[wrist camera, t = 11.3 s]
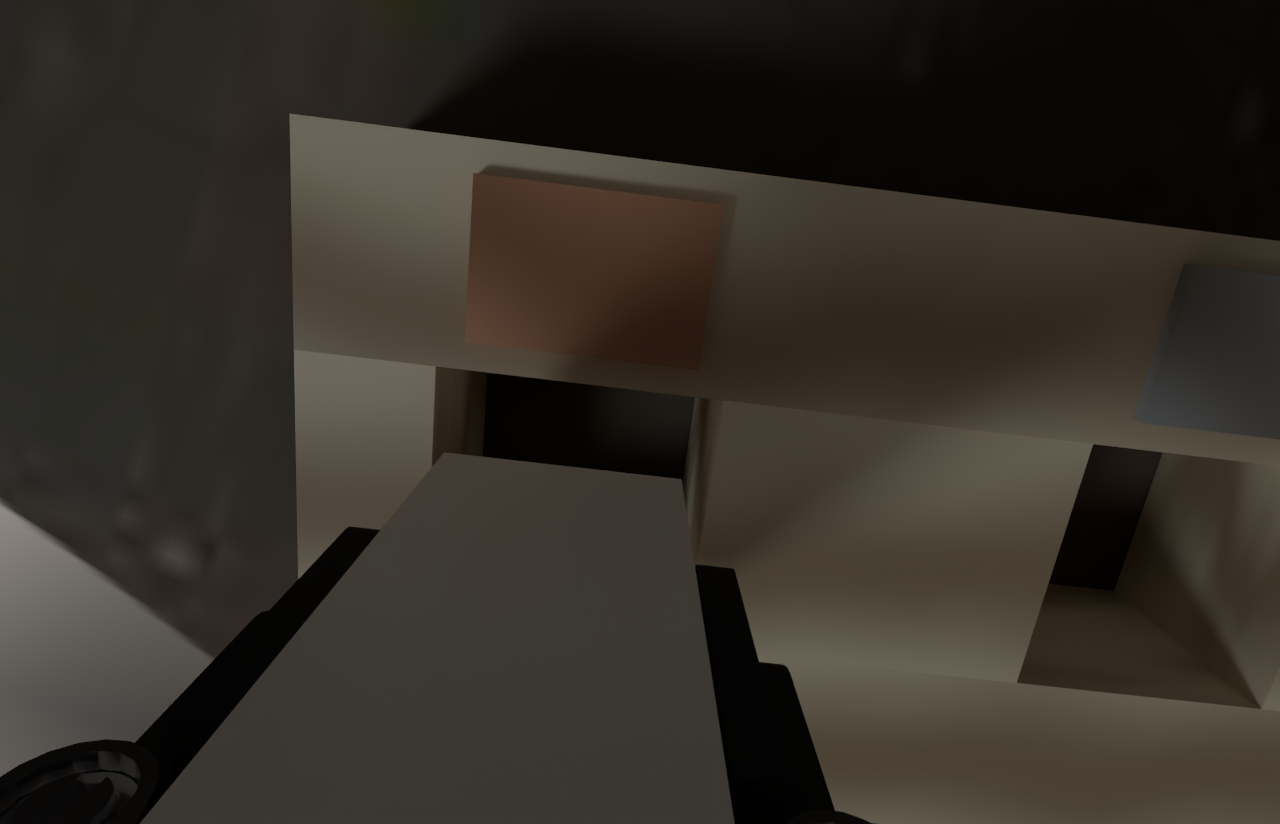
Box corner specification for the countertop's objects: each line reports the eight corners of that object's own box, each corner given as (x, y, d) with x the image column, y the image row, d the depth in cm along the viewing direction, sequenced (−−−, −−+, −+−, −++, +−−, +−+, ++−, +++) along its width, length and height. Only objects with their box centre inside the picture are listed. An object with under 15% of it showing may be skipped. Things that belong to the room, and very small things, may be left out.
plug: (441, 449, 12) (-163, 1166, 3) (685, 477, 12) (815, 1239, 3) (432, 659, 13) (-20, 1627, 4) (654, 682, 13) (683, 1669, 4)
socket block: (390, 142, 17) (281, 111, 12) (1336, 263, 18) (1619, 283, 12) (380, 637, 21) (295, 776, 16) (1156, 719, 21) (1317, 877, 16)
